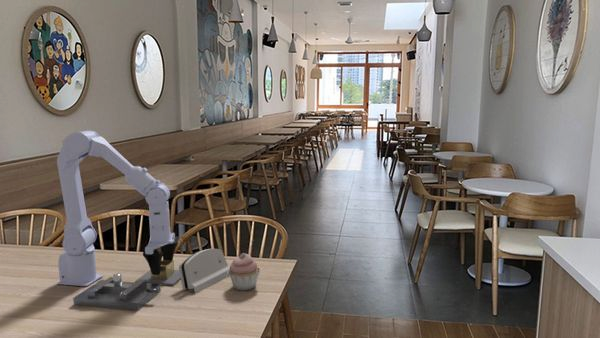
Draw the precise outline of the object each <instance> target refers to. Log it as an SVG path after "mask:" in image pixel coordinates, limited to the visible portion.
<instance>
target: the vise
mask: <svg viewBox="0 0 600 338" xmlns="http://www.w3.org/2000/svg"><path fill="white" fill-rule="evenodd" d="M122 280H123V279H122V273H118V272H117V273H114V274H113V275H112V276H109V277H107V279H100V280H99V281H97V282H96V283H93V284H92V285H91V286H90V287H88V288H87V289H85V290H83V291H82V292H80V293H79V294H78V295H76V296H74V297H73V306H80V307H90V308H91V307H92V308H102V309H103V308H105V309H115V310H124V311H126V310H127V311H135V312H136V311H140V309H142V308H143V307H144V306H145V305H146V304H147V303H148V302H150V301H151V300H152V299H153V298H154V297H155V296H157V295H158V294H159V293H160V292H161V290H162V289H161V285H160V284H151V283H147V280H145V279H139V280H138V281H137V282H135V281H124V280H123V281H122Z"/></svg>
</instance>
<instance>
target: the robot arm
mask: <svg viewBox="0 0 600 338" xmlns="http://www.w3.org/2000/svg"><path fill="white" fill-rule="evenodd" d="M61 143H62V145H61V148H60V150H59V153H58V156H57V158H56V164H57V171H58V176H59V182H60V188H61V194H62V201H63V204H64V212H65V217H66V223H65V226H64V229H63V234H64V237H63V239H62V248H63V249H64V251H63V252H62V253H60V254H59V257H58V264H57V265H58V275H59V276H58V277H59V281H58V282H57V284H58V285H63V286H64V285H65V286H66V285H67V286H80V287H88V286H89V285H92V284H94V282H96V281H98V280H99V279H100V278H103V277H104V274H101V273H97V262H96V252H95V251H96V249H95V246H94V243H95V242H96V240H97V237H98V236H97V235H98V234H97V231H96V230H95V227H93V224H92V220H91V219H90V218H89V217H88V215H87V208H86V203H85V197H84V191H83V189H84V188H83V185H82V184H83V183H82V178H81V171H80V166H79V165H80V163H82V161H83V160H84V159H85V158H86V157H87V156H90V157H98V158H102V159H103V160H105V161H107V162H108V163H109V164H111V166H112V167H114V168H115V169H117V170H118V171H119V172H121V173H122V174H124V177H125V182H126V183H127V184H129V185H130V187H133V189H134V190H136V192H138V193H139V194H141V195H142V196H144V197H145V198H144V199H145V202H146V203H147V204H148V220H149V237H150V238H149V242H148V244H147V245H146V246H145V247H144V251H142V256H143V258H144V259H145V260H146V262H147V264H148V266H149V269H150V270H151V273H152V275H159V274H160V269H161V260H173V259H174V255H175V251H176V249H177V246H178V244H179V241H178V240H175V239H176V233H175V232H171V221H170V220H171V219H170V209H169V208H170V207H169V206H170V204H169V199H170V196H171V191H170V188H169V187H168V185H167V184H166V183H163V182H161V181H160V180H159V179H155V177H153V176H152V175H151V174H150V173H149V172H148V169H147V168H146V167H141V166H140V165H137V166H136V165H135V166H134V165H133V164H132V163H130V162H129V160H127V159H126V158H125V157H124V156H123V155H122V154H121V153H120V152H119V151H117V149H116V148H114V146H112V145H111V144H110V143H109V142H108V141H107V140H106V138H105V137H103V136H101V135H99V133H97V132H96V131H94V130H92V129H85V130H81V131H75V132H74V131H73V132H71V133H70V134H69V135H67V136H66V137H65V138H64V139H63V140H62V142H61ZM158 249H160V251H159V250H158ZM173 261H174V260H173Z"/></svg>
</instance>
